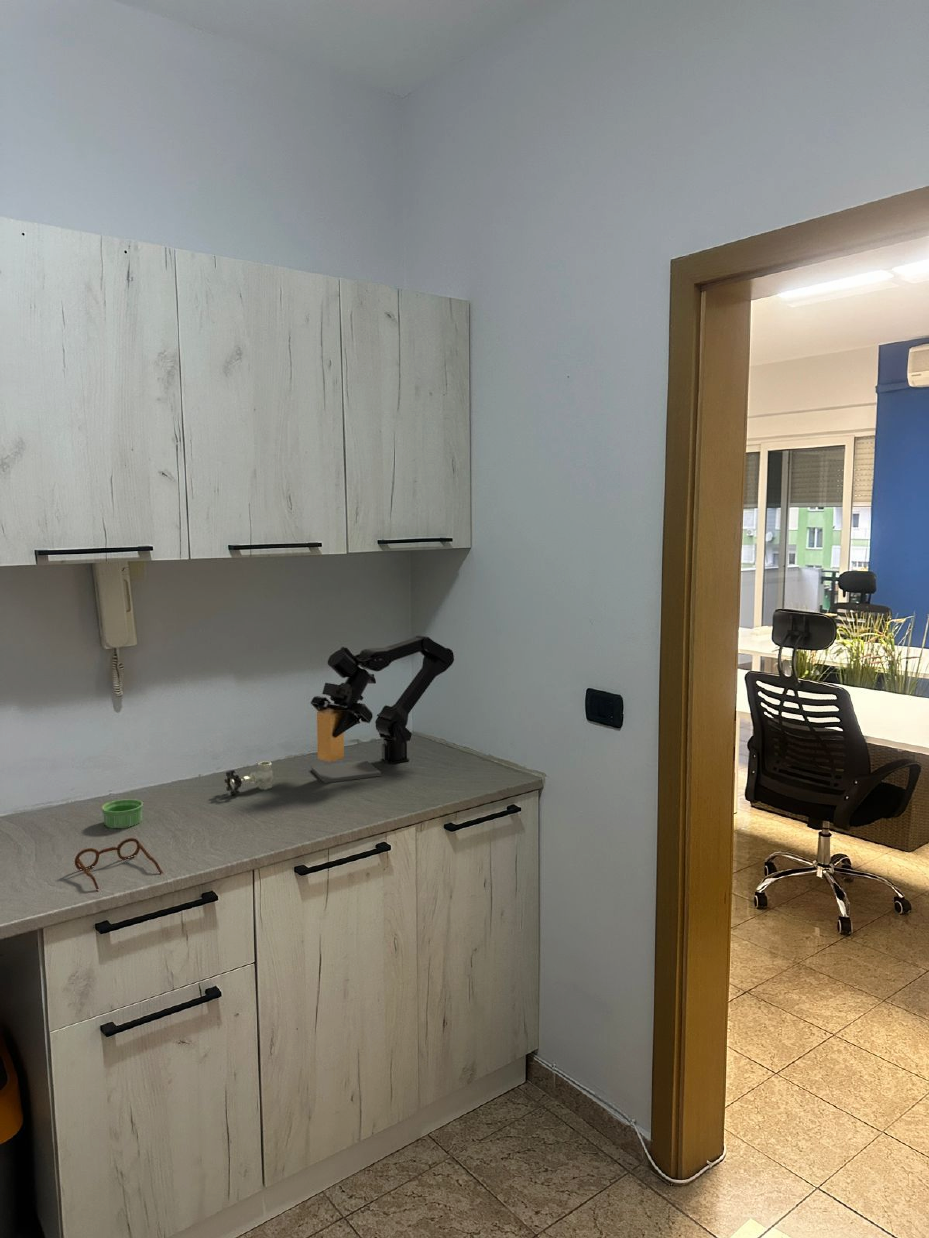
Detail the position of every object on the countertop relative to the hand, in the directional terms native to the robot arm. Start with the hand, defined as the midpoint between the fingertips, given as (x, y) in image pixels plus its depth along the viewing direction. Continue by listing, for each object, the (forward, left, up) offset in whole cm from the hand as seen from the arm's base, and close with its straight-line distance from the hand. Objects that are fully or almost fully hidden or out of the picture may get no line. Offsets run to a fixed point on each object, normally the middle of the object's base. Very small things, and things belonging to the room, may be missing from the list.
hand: (326, 735), depth 240 cm
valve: (+21, +1, -13) cm, 24 cm away
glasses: (+56, +43, -13) cm, 72 cm away
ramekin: (+53, +13, -13) cm, 56 cm away
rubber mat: (-6, -4, -12) cm, 14 cm away
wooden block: (-1, -1, -7) cm, 7 cm away
